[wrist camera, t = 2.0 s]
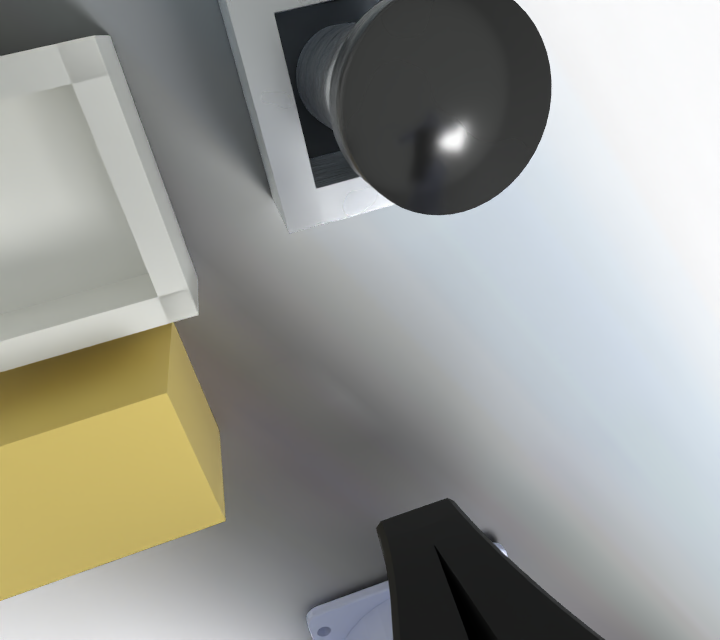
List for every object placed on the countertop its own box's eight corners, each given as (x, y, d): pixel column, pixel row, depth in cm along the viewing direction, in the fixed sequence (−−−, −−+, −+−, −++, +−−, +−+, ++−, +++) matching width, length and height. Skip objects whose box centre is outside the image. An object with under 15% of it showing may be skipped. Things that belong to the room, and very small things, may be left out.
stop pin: (414, 127, 16) (555, 185, 10) (297, 157, 15) (367, 238, 9) (393, -9, 14) (546, -44, 8) (263, 21, 14) (320, 8, 8)
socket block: (450, 152, 16) (500, 175, 14) (273, 200, 16) (289, 233, 13) (424, -61, 14) (477, -83, 11) (214, -15, 13) (218, -27, 11)
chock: (219, 428, 18) (225, 521, 15) (21, 494, 18) (-21, 608, 14) (172, 316, 16) (166, 392, 13) (-52, 385, 16) (-121, 485, 12)
